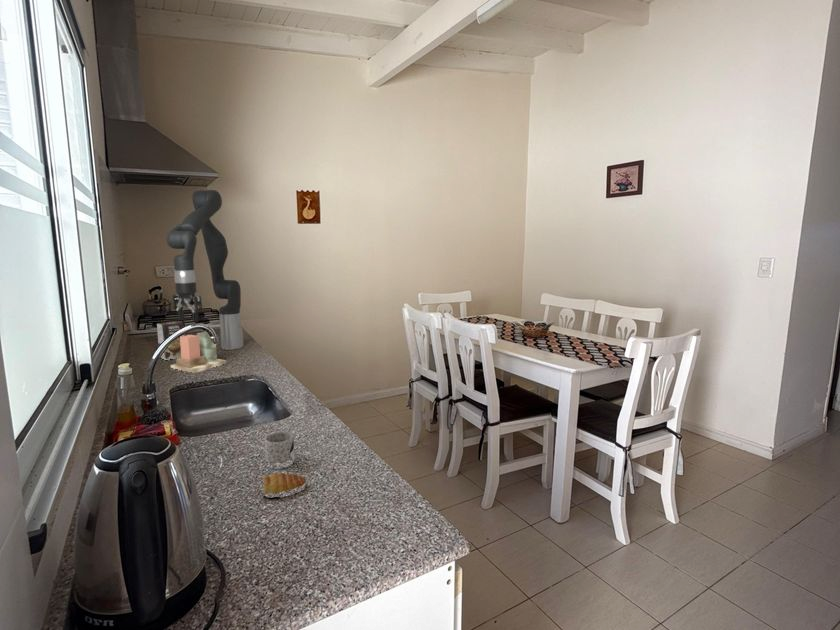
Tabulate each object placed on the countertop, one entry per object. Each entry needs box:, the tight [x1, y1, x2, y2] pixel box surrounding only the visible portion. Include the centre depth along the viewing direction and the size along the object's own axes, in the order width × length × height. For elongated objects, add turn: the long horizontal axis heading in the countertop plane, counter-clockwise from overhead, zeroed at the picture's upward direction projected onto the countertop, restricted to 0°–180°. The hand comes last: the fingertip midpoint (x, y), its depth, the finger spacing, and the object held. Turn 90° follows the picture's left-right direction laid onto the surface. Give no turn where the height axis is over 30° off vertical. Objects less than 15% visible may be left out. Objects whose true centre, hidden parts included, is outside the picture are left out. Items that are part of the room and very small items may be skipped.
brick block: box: [180, 334, 200, 360], centre depth 197 cm, size 5×5×9 cm
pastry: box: [262, 472, 307, 494], centre depth 104 cm, size 9×7×4 cm
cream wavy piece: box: [170, 331, 227, 374], centre depth 201 cm, size 16×14×14 cm
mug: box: [264, 431, 295, 463], centre depth 118 cm, size 10×7×7 cm
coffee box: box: [156, 320, 185, 361], centre depth 214 cm, size 9×6×16 cm
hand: (188, 320), depth 196 cm, fingers open, 8 cm apart
